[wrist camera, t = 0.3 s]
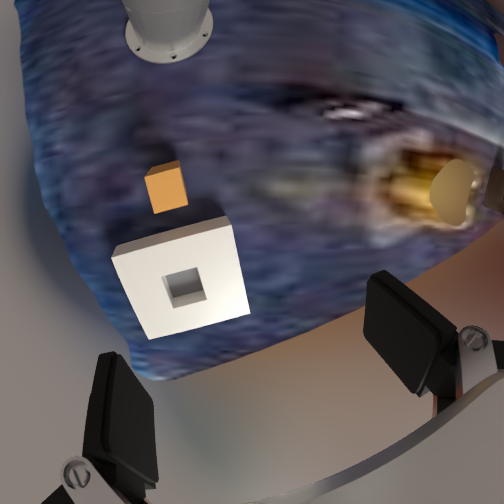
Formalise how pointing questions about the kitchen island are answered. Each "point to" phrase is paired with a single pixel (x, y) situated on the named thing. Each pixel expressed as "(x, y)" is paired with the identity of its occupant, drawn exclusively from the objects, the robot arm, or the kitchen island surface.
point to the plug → (166, 187)
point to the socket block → (183, 277)
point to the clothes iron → (495, 191)
